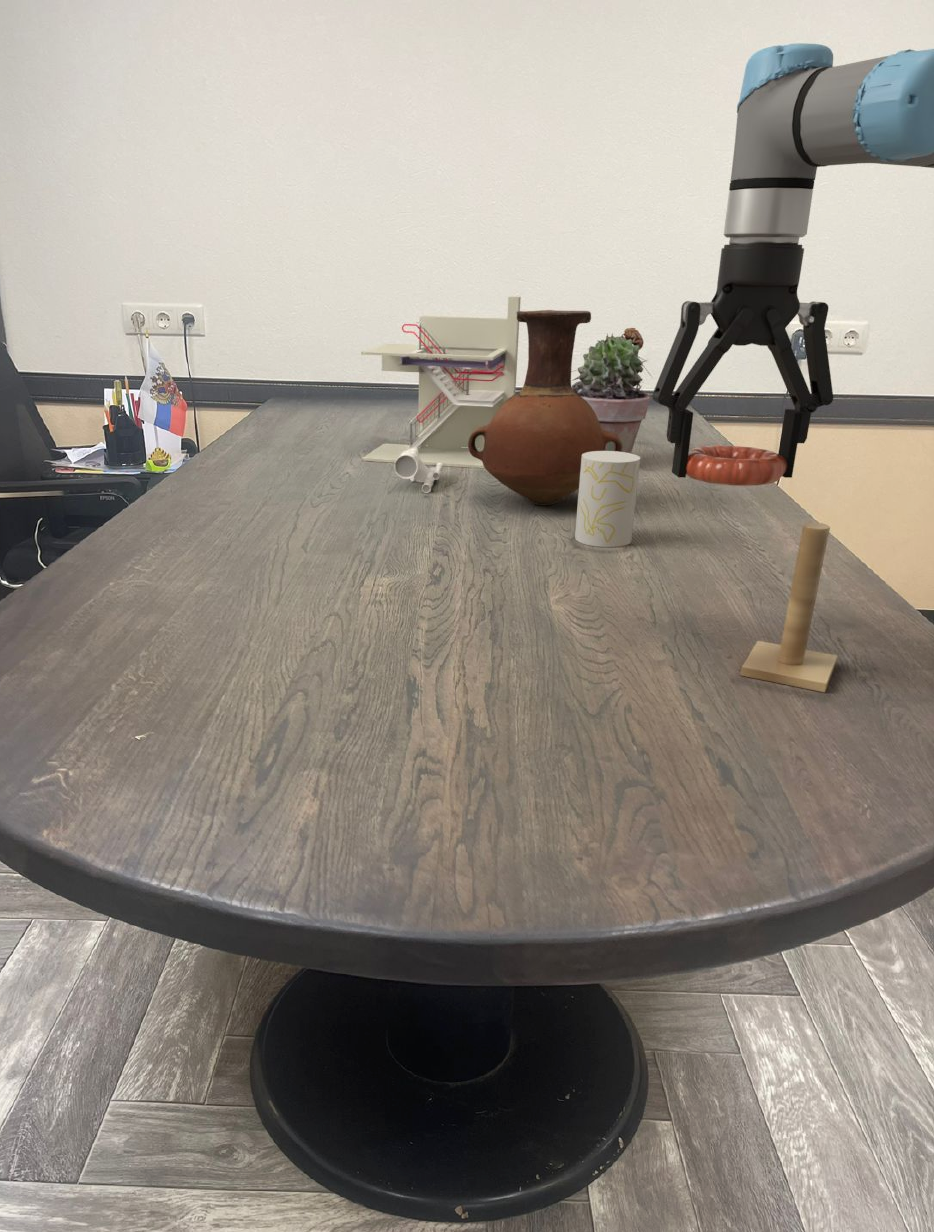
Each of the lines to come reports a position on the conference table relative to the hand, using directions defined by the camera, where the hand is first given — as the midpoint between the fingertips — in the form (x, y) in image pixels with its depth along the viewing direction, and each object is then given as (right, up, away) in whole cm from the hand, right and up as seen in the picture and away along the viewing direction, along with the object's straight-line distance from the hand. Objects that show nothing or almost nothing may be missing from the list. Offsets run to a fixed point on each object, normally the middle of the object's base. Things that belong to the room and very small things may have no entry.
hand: (731, 475), depth 99 cm
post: (+5, -20, -3) cm, 21 cm away
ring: (0, +1, -1) cm, 1 cm away
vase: (-13, +8, +58) cm, 60 cm away
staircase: (-29, +24, +91) cm, 99 cm away
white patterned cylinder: (-6, -1, +40) cm, 40 cm away
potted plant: (+3, +22, +88) cm, 91 cm away
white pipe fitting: (-33, +14, +71) cm, 79 cm away
